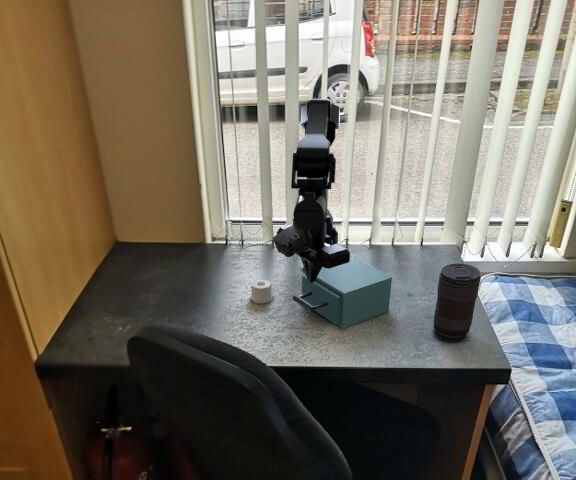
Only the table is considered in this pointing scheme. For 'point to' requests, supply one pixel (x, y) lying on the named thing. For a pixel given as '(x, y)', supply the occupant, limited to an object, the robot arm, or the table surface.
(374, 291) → the teal cabinet
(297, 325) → the table surface
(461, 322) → the camera lens
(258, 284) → the label roll
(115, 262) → the table surface
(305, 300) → the drawer
